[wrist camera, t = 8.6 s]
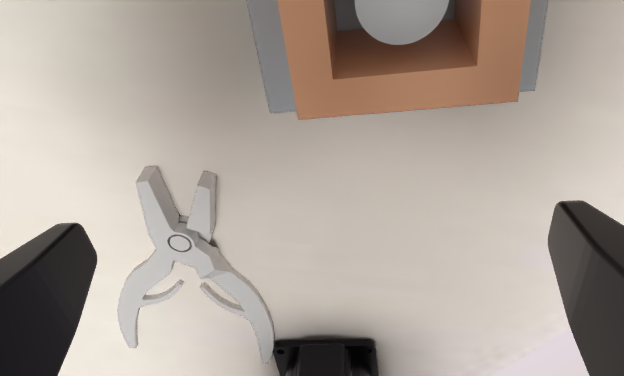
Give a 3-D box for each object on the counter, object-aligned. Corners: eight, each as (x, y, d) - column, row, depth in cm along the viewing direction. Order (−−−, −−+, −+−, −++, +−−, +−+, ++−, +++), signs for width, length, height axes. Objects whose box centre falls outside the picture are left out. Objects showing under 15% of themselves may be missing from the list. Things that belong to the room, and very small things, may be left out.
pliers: (120, 358, 31) (66, 172, 22) (129, 338, 33) (82, 153, 24) (270, 376, 31) (278, 195, 22) (274, 354, 32) (283, 175, 23)
